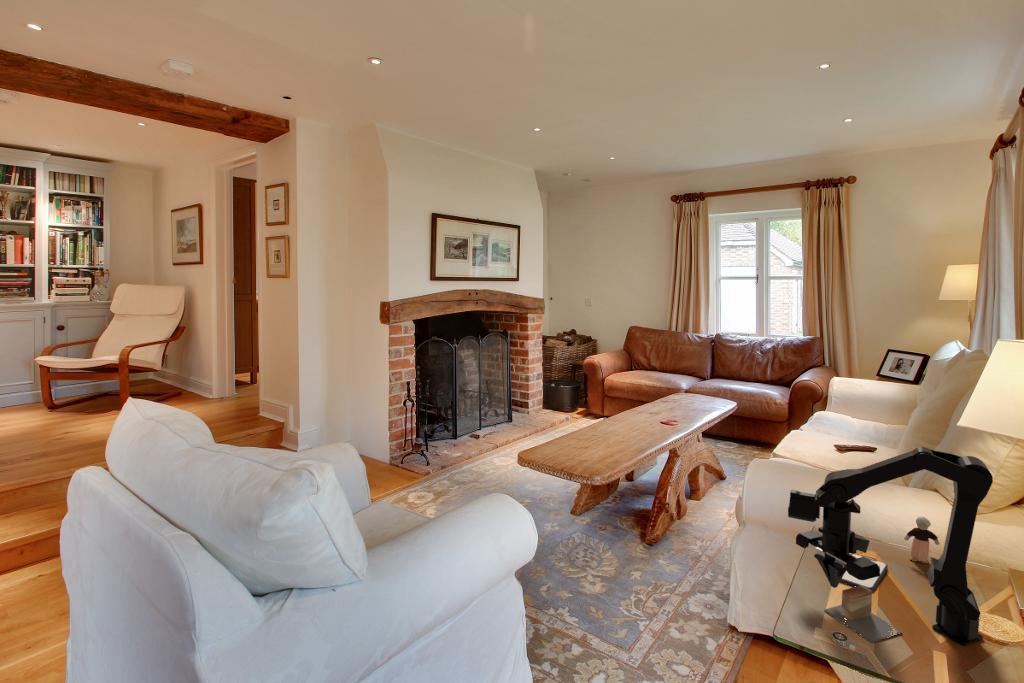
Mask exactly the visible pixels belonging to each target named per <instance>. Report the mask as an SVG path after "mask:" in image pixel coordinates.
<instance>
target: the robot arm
mask: <svg viewBox="0 0 1024 683" xmlns="http://www.w3.org/2000/svg"><path fill="white" fill-rule="evenodd" d="M924 470H926V471H928V472H932V473H933V474H936V475H938V476H941V477H942V478H945V479H947V480H949V481H952V482H953V483H952V485H953V494H954V496H953V502H952V506H951V507H952V508H951V511H950V512H951V513H950V517H949V521H948V526H947V531H946V536H945V541H944V546H943V550H942V554H941V555H940V557H939V558H938V559H936V558H934V557H930V567H929V569H928V570H927V571H926V573H927V576H928V582H929V585H930V587H931V588H932V590H933V594H934V596H935V597H936V598H937V599H938V604H937V605H936V608H935V609H936V611H935V622H936V623H935V624H932V625H931V627H932V629H934V630H936V631H937V632H939V633H940V634H942V635H944V636H946V637H948V638H949V639H951V640H953V641H954V642H956V643H958V644H960V645H962V646H966V645H969V644H973V643H975V642H978V641H981V640H984V636H983V635H982V634H980V633H979V629H980V615H981V611H980V608H979V606H978V603H977V600H976V597H975V594H974V592H973V591H972V590H971V589H970V588H969V587H968V577H967V576H968V575H967V570H966V569H967V563H968V562H967V561H968V557H969V553H970V552H969V551H970V547H971V543H972V538H973V533H974V528H975V523H976V518H977V515H978V510H979V506H980V504H981V503H983V501H984V499H985V498H986V497H987V495H988V493H989V491H990V489H991V487H992V485H993V482H994V480H993V479H994V477H993V475H992V473H991V471H990V469H989V468H988V467H987V465H986V464H985V462H984V461H983V460H981V459H980V458H978V457H976V456H973V455H971V456H970V455H964V456H961V455H957V454H953V453H950V452H945V451H939V450H935V449H930V448H928V447H925V446H918V447H915V448H914V449H913V450H910V451H907V452H904V453H902V454H899V455H895V456H892V457H890V458H887V459H884V460H881V461H879V462H875V463H873V464H870V465H866V466H864V467H861V468H850V469H849V468H846V469H841V470H836V471H831V472H829V473H828V474H826V476H825V479H824V481H823V482H824V483H823V484H822V485H821V486H820V487H818V488H817V490H815V493H810V492H809V493H808V492H804V491H803V492H802V491H799V490H795V489H791V490H790V493H789V503H788V506H787V516H788V518H790V519H795V520H798V521H799V520H800V521H806V522H811V523H815V522H817V519H819V520H820V516H821V508H822V509H823V510H822V526H819V527H818V532H817V531H815V530H813V529H812V530H808V531H807V530H806V531H802V532H798V533H797V535H796V536H795V544H796V545H797V546H799V547H801V548H802V549H807V548H809V544H810V545H811V546H813V547H815V550H816V553H815V554H814V558H815V559H816V560H817V562H818V563H819V565H820V568H821V569H822V571H823V572H824V575H825V576H826V578H827V581H828V583H829V585H830V587H832V588H834V589H835V588H838V587H839V585H840V583H841V582H840V581H841V579H842V577H843V575H844V574H845V572H846V571H847V572H848V574H850V575H851V576H853V577H855V578H857V579H858V580H867V579H870V578H874V577H878V576H880V567H879V566H878V564H876V563H874V562H873V561H871V560H869V559H867V558H868V557H867V558H865V557H866V556H863V557H860V558H856V557H854V556H852V554H857V551H858V552H862V553H864V554H867V551H868V548H869V545H870V541H871V540H870V539H868V538H865V537H864V536H861V535H859V534H857V533H855V531H853V530H852V529H851V523H852V513H853V514H857V515H858V514H861V506H860V505H859V504H858V503H857V502H856V501H855V499H854V498H856V497H858V496H860V495H861V494H862V493H863V492H864V491H866V490H867V489H870V488H871V487H874V486H877V485H881V484H884V483H887V482H889V481H890V482H891V481H893V480H896V479H898V478H902V477H905V476H908V475H910V474H914V473H917V472H921V471H924Z"/></svg>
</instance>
